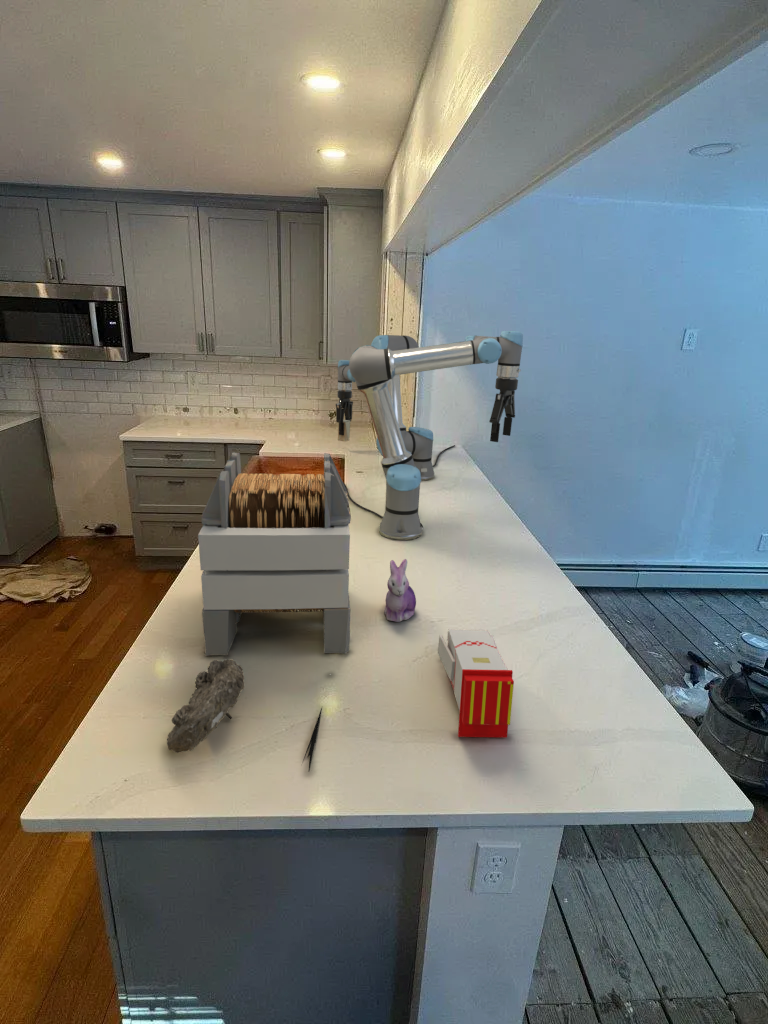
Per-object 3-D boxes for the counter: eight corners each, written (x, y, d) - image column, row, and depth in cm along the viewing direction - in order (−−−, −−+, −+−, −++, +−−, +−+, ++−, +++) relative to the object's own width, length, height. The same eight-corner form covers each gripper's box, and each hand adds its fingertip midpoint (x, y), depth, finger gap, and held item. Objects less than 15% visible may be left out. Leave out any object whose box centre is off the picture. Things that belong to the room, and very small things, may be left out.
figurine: (392, 627, 141) (395, 572, 136) (374, 608, 149) (376, 556, 144) (425, 619, 145) (429, 566, 140) (405, 601, 154) (408, 550, 149)
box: (337, 440, 307) (337, 420, 303) (342, 439, 311) (342, 419, 307) (345, 441, 305) (346, 421, 301) (350, 440, 308) (350, 420, 304)
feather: (331, 679, 122) (336, 673, 122) (307, 777, 96) (313, 769, 95) (324, 675, 122) (329, 669, 121) (298, 772, 95) (304, 764, 95)
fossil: (192, 660, 117) (244, 628, 112) (224, 691, 120) (276, 661, 115) (142, 746, 98) (202, 712, 93) (182, 779, 101) (242, 748, 96)
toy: (488, 613, 130) (523, 677, 101) (484, 667, 133) (517, 744, 104) (435, 612, 130) (455, 676, 101) (432, 666, 133) (451, 743, 103)
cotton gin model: (226, 586, 157) (217, 442, 143) (344, 585, 161) (346, 445, 147) (202, 658, 125) (189, 482, 112) (350, 654, 129) (354, 483, 115)
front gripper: (506, 382, 184) (499, 446, 191) (528, 376, 205) (520, 434, 212) (484, 379, 188) (478, 442, 195) (508, 374, 208) (501, 431, 215)
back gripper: (341, 392, 290) (340, 437, 297) (359, 389, 304) (358, 432, 312) (329, 391, 293) (329, 435, 301) (347, 388, 307) (347, 430, 315)
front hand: (500, 438), depth 203 cm, fingers open, 13 cm apart
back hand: (343, 434), depth 306 cm, fingers closed on box, 4 cm apart
